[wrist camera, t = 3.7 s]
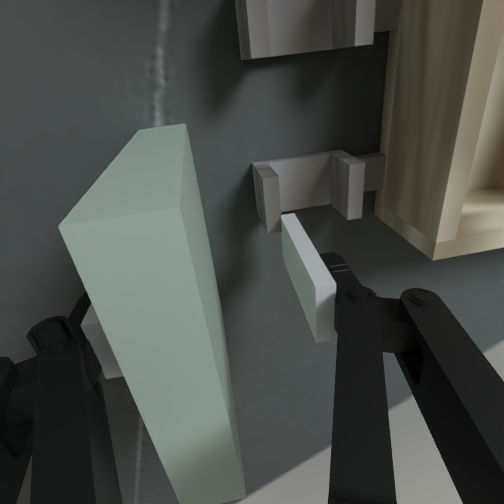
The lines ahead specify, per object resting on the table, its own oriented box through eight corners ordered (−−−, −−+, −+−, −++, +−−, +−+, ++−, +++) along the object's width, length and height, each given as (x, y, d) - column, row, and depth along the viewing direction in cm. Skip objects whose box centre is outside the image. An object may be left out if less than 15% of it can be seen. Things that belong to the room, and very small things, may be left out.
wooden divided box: (259, 234, 21) (282, 288, 16) (228, -64, 14) (251, -142, 9) (592, 177, 23) (710, 208, 18) (710, -105, 16) (958, -188, 11)
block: (177, 312, 23) (167, 516, 12) (127, 131, 17) (26, 231, 6) (220, 304, 23) (246, 497, 13) (185, 123, 17) (180, 206, 7)
